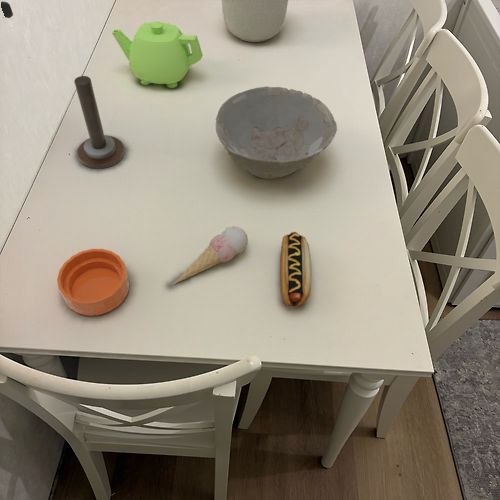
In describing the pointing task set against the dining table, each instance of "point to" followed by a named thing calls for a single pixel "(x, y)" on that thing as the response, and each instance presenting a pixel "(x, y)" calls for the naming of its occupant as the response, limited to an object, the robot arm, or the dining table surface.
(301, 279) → the hot dog
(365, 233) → the dining table surface
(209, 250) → the ice cream cone
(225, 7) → the planter
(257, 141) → the ceramic bowl
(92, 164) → the disc
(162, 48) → the teapot
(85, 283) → the orange bowl
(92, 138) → the masher
